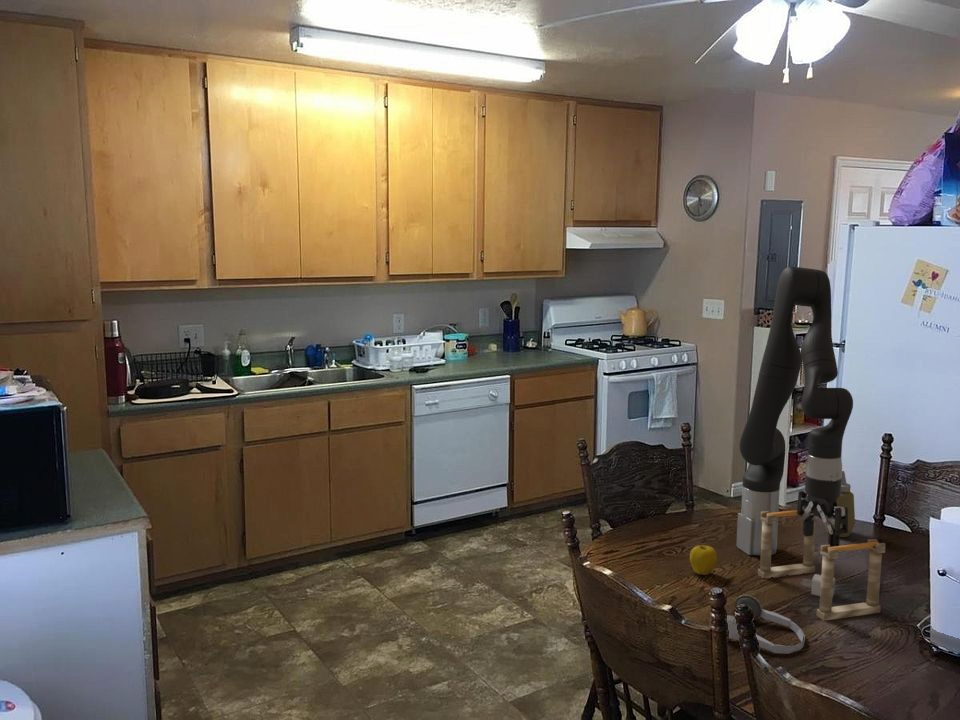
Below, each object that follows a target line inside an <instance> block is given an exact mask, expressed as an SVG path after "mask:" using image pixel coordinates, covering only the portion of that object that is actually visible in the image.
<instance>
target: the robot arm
mask: <svg viewBox="0 0 960 720" xmlns="http://www.w3.org/2000/svg"><path fill="white" fill-rule="evenodd" d="M831 287H832V286H831V281H830V278H829V275H828V273H827V272H825V270H824V271H823V270H821V269H816V268H808V267H807V268H806V267H800V266H787V267H786V268H784V269H783V270H782V272H781V274H780V276H779V278H778V282H777V286H776V292H775V297H774V304H773V310H772V319H771V323H770V328H769V332H768V337H767V341H766V345H765V349H764V352H763V356H762V360H761V364H760V369H759V372H758V376H757V382H756V387H755V389H754V390H755V391H754V394H753V400H752V404H751V409H750V411H749V414H748V417H747V421H746V423H745V426H744V429H743V432H742V434H741V436H740V440H739V452H740V455H741V457H742V458H743V460H744V461H745V462H746V463H748V466H747V468H746V470H745V472H744V474H743V475H742V487H741V488H742V489H741V490H742V491H741V512H738V513H737V523H736V546H737V548H738V549H739V550H741V551H742V552H744V553H746V554H747V555H748V556H758V557H759V556H760V557H761V539H762V520H760V516H761V512H763V511H769V513H775V512H779V509H780V508H779V507H780V506H779V505H780V488H781V481H782V479H783V477H784V472H785V471H784V470H785V462H786V461H785V460H786V440H785V437H784V434H783V433H782V432H781V431H780V430H779V429H778V428H777V427H778V422H779V420H780V416H781V414H782V412H783V410H784V409H785V407H786V405H787V403H788V402H789V400H790V398H791V396H792V394H793V392H794V390H795V388H796V385H797V382H798V379H799V375H800V372H801V367H803V374H804V384H803V386H804V387H803V392H802V397H801V404H800V405H801V410H802V412H803V414H804V415H805V416H806V417H807V418H809V419H812V420H829V422H828V423H827V424H826V425H823V426H821V427H820V426H819V427H815V428H813V429H810V430H809V433H808V441H807V442H808V444H807V445H808V447H807V457H806V462H805V463H806V464H805V486H804V490H799V491H798V495H797V507H796V508H797V509H796V510H797V514H798V515H797V516H801V519H802V521H803V525H802V532H803V534H802V535H804V536H806V537H807V536H812V535H813V529H814V520H812V519H814V517H815V516H818V519H820V520H822V522H823V524H824V526H825V525H827V527H828V530H829V534H828V538H827V539H828V543H827V545H828V544H829V545H830V547H835V546H840V538H841V537H840V534H844V533H847V532H848V509H847V507H840V506H838V504H837V498H838V497H839V496H840V495H841V481H842V471H843V461H842V458H843V457H842V451H843V439H844V435H845V432H846V427H847V426H848V423H849V420H850V417H851V415H852V411H853V409H854V399H853V395H852V394H851V392H850V391H849V390H848V389H847V388H845V387H819V386H820V385H824V384H827V383H830V382H833V381H834V380H835V379H837V377H838V374H839V372H838V365H837V359H836V355H835V351H834V349H835V348H834V343H833V337H832V336H833V335H832V334H833V333H832V332H833V331H832V288H831ZM795 306H799V307H800V306H801V307H809V308H811V312H812V316H813V317H812V322H811V325H810V326H809V329H808V330H807V332H806V333H805V336H804V338H803V340H802V343H801V348H800V346H799V342H798V340H797V337H796V335H795V333H794V328H793V312H794V308H795ZM832 516H833V519H831V520H829V519H830V518H831V517H832ZM778 524H779V517H776V518H775V523H773V530H772V550H771V556H772V555H775V554H776V553H777V549H778V530H779V529H778V528H779V525H778ZM832 524H834V526H835V528H834V529H833V526H832ZM840 524H842V528H841V527H840ZM804 536H803V537H804Z"/></svg>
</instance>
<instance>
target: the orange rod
mask: <svg viewBox="0 0 960 720" xmlns="http://www.w3.org/2000/svg"><path fill="white" fill-rule="evenodd" d="M878 543H879V541H877V542H868V541H867V542H861V543H853V544H845V545H839V546H835V547H828V548H827V551H828V549H838V553H841V552H849V551H856V550H857V551H858V550H865V549H867V548H874V547H876V544H878Z"/></svg>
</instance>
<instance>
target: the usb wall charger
mask: <svg viewBox="0 0 960 720" xmlns="http://www.w3.org/2000/svg"><path fill="white" fill-rule="evenodd" d="M800 585H801V586H804V587H807V588H811V590H810V591H811V596H816V597H820V591H821V574H819V573H818V574H817V573H815V574H814V575H813V576H812V579H811V580H810V579H806V578H802V581H800ZM835 586H836V578H835V577H834V578H833V594H832V598H834V595H835V591H836V587H835Z"/></svg>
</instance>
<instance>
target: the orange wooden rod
mask: <svg viewBox="0 0 960 720" xmlns="http://www.w3.org/2000/svg"><path fill="white" fill-rule="evenodd" d="M772 514H774V515H775V518H776V517H778V518H783V517H793V516H794V517H795V516H799V515H798V514H797V509H795V510H786V511H785V510H784V511H778V512H775V513H767V514H766V516H767V515H772Z"/></svg>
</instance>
